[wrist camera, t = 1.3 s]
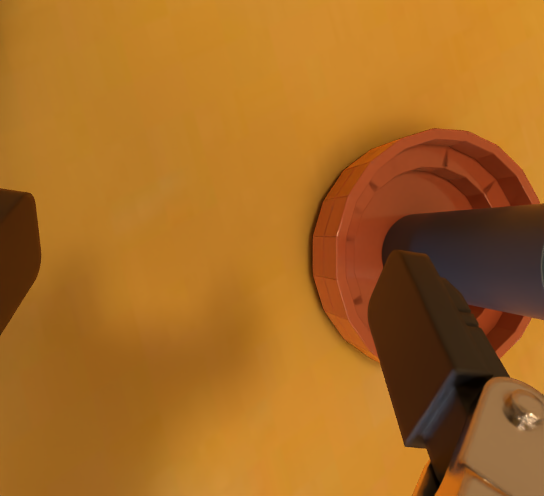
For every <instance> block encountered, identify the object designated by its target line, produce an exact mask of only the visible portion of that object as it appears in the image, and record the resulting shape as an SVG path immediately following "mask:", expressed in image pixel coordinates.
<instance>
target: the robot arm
mask: <svg viewBox="0 0 544 496" xmlns="http://www.w3.org/2000/svg"><path fill="white" fill-rule="evenodd" d="M40 263H41V247H40V238H39V230H38V221H37V213H36V204H35V200H34V197H33V195H32V194H31V193H27V192H21V191H14V190H7V189H1V188H0V335H1V333H2V332H3V330H4V329H5V327H6V326H7V324H8V322H9V321H10V319H11V318H12V316H13V315H14V313H15V311H16V310H17V308H18V307H19V305H20V303H21V302H22V300H23V299H24V297H25V296H26V294H27V292H28V291H29V289H30V288H31V286H32V285H33V283H34V281H35V280H36V277H37V275H38V272H39V269H40ZM368 323H369V327H370V330H371V334H372V337H373V340H374V344H375V347H376V351H377V354H378V357H379V361H380V364H381V367H382V371H383V374H384V378H385V381H386V384H387V388H388V391H389V394H390V398H391V401H392V405H393V408H394V411H395V415H396V418H397V421H398V425H399V428H400V432H401V435H402V438H403V442H404V445H405V447H414V448H426V449H427V451H428V454H429V457H430V459H429V461H428V462H427V463H426V465H425V467H424V468H423V471H422V473H421V475H420V478H419V480H418V482H417V485H416V487H415V489H414V492H413V494H412V496H544V395H543V394H541V393H540V392H539V391H537V390H536V389H534V388H533V387H531V386H530V385H528V384H526V383H524V382H522V381H519V380H516V379H513V378H510V376H509V375H508V373H507V371H506V370H505V368H504V366H503V364H502V363H501V361H500V359H499V358H498V356H497V354H496V352H495V351H494V349H493V347H492V345H491V344H490V342H489V340H488V339H487V337H486V335H485V333H484V332H483V330H482V328H479V323H478V321H477V320H476V318H475V316H474V314H472V313H471V309H470V308H469V306H468V304H467V302H466V301H465V299H464V297H463V296H462V294H461V293H460V292H459V291H458V290H457V289H456V288H455V287H454V286H453V285H452V284H451V283H450V282H449V281H448V280H447V279H446V278H443V277H440V276H439V274H438V272H437V270H436V268H435V267H434V265H433V263H432V261H431V259H430V258H429V256H428V255H427V254H423V253H416V252H410V251H403V250H396V249H395V250H393V251H392V252H391V253H390V254H389V256H388V258H387V260H386V263H385V265H384V267H383V270H382V272H381V274H380V277H379V279H378V281H377V283H376V286H375V288H374V290H373V293H372V295H371V297H370V300H369V304H368Z"/></svg>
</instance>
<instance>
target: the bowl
mask: <svg viewBox="0 0 544 496" xmlns="http://www.w3.org/2000/svg"><path fill="white" fill-rule="evenodd" d="M532 204H540V202H539V199H538V197H537V195H536V194H535V192H534V190H533V188H532V186H531V184H530V183H529V181H528V179H527V177H526V175H525V173H524V172H523V170H522V169H521V168H520V167H519V166H518V165H517V164H516V163H515V162H514V161H513V160H512V159H511V158H510V157H509V156H508V155H507V154H506V153H505V152H504V151H503V150H502V149H501V148H500V147H499V146H497V145H496V144H494V143H492V142H490V141H488V140H485V139H483V138H481V137H479V136H477V135H475V134H473V133H471V132H469V131H463V130H450V129H437V128H434V129H429V130H426V131H423V132H420V133H416V134H413V135H410V136H407V137H403V138H400V139H398V140H395V141H392V142H390V143H387V144H384V145H381V146H379V147H376V148H373V149H371V150H369V151H368V152H367V153H366V154H364V155H363V156H362V157H360V158H359V159H358V160H356V161H355V162H354V163H352V164H351V165H350V166H349V167H347V168H346V169H345V170H344V171H343V172H342V174H341V175H340V177H339V178H338V180H337V181H336V183H335V184H334V186H333V187H332V189H331V190H330V192H329V193H328V195H327V196H326V198H325V199H324V201H323V204H322V207H321V211H320V214H319V217H318V221H317V224H316V227H315V231H314V234H313V277H314V280H315V283H316V287H317V290H318V293H319V296H320V300H321V303H322V306H323V309H324V311H325V313H326V314H327V316H328V317H329V319H330V320H331V321H332V323H333V324H334V326H335V327H336V329H337V330H338V331H339V333H340V334H341V336H342V337H343V338H344V339H345V340H346V341H347V342H349V343H350V344H351V345H353V346H354V347H356V348H357V349H358V350H360V351H361V352H363V353H364V354H365V355H367V356H368V357H370V358H371V359H373V360H375V361H377V362H379V363H380V361H379V357H378V354H377V351H376V347H375V344H374V340H373V337H372V334H371V330H370V327H369V323H368V304H369V300H370V297H371V295H372V293H373V290H374V288H375V286H376V283H377V281H378V279H379V277H380V274H381V272H382V270H383V262H382V247H383V242H384V239H385V237H386V234H387V233H388V231H389V229H390V228H391V227H392V226H393V224H394V223H396V222H397V221H398V220H399V219H401V218H403V217H405V216H407V215H411V214H421V213H434V212H446V211H458V210H470V209H483V208H495V207H507V206H519V205H532ZM468 306H469V308H470V309H471V313H472V314H474V316H475V318H476V320H477V321H478V323H479V328H482V330H483V332H484V333H485V335H486V337H487V339H488V340H489V342H490V344H491V345H492V347H493V349H494V351H495V352H496V354H497V356H498V358H499V359H500V358H501V357H502V356H503V355H504V354H505V353H506V352H507V351H508V350H509V349H510V348H511V347H512V346H513V345H514V344H515V343H516V342H517V341H518V340H519V339H520V338H521V336H522V335H523V333H524V331H525V329H526V327H527V326H528V324H529V322H530V320H531V317H527V316H522V315H517V314H512V313H507V312H502V311H497V310H492V309H487V308H482V307H477V306H473V305H468Z"/></svg>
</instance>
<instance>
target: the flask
mask: <svg viewBox="0 0 544 496" xmlns="http://www.w3.org/2000/svg"><path fill="white" fill-rule="evenodd" d="M395 249H396V250H403V251H410V252H416V253H423V254H427V255H428V256H429V258H430V259H431V261H432V263H433V265H434V267H435V268H436V270H437V272H438V274H439V276H440V277H443V278H446V279H447V280H448V281H449V282H450V283H451V284H452V285H453V286H454V287H455V288H456V289H457V290H458V291H459V292H460V293H461V294H462V296H463V297H464V299H465V301H466V302H467V304H468V305H473V306H477V307H482V308H487V309H492V310H497V311H502V312H507V313H512V314H517V315H522V316H527V317H531V318H536V319H541V320H544V204H532V205H519V206H507V207H495V208H483V209H470V210H458V211H446V212H434V213H421V214H411V215H407V216H405V217H403V218H401V219H399V220H398V221H397V222H396V223H394V224H393V226H392V227H391V228H390V229H389V231H388V233H387V234H386V237H385V239H384V242H383V247H382V262H383V267H384V265H385V263H386V260H387V258H388V256H389V254H390V253H391V252H392V251H393V250H395Z"/></svg>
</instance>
